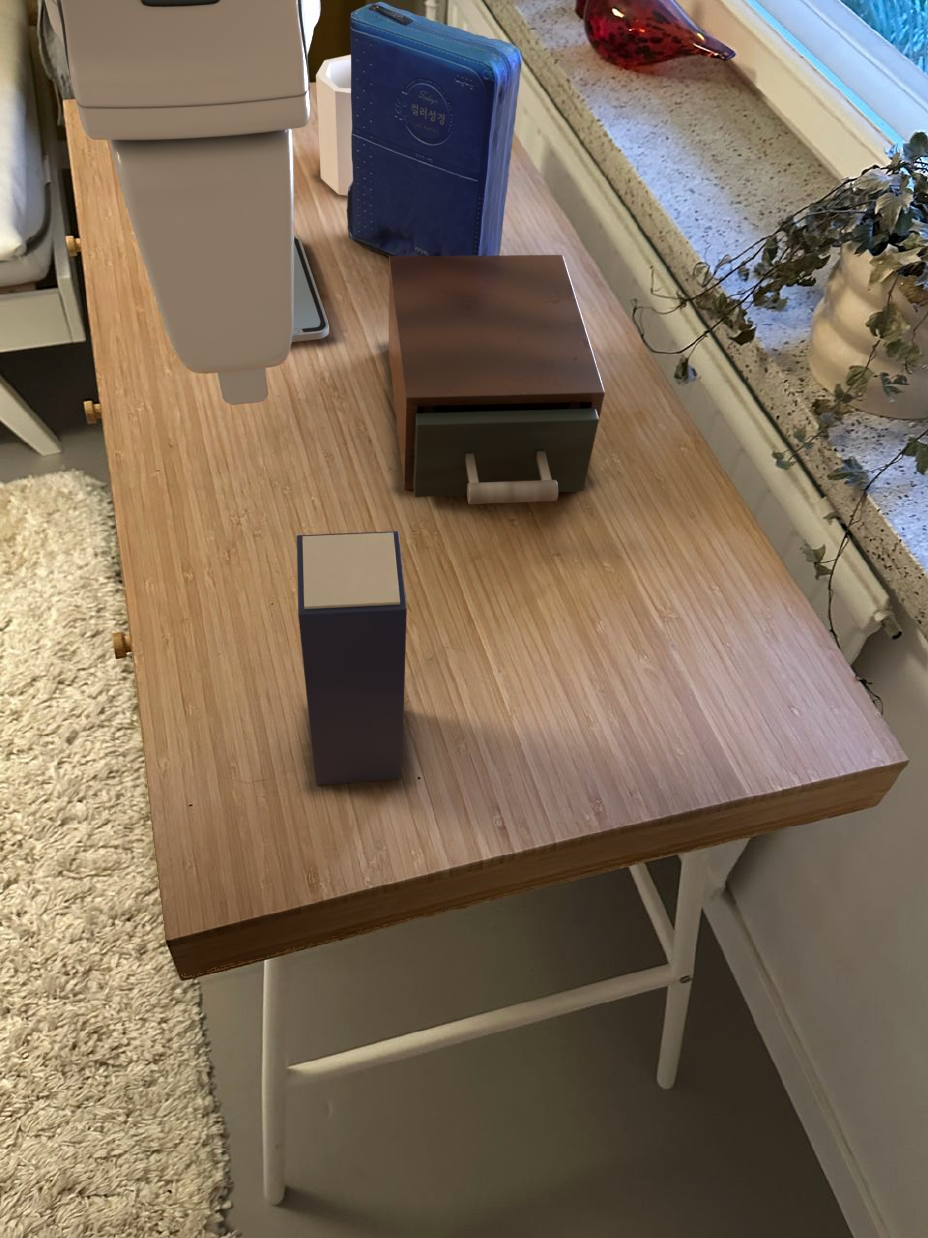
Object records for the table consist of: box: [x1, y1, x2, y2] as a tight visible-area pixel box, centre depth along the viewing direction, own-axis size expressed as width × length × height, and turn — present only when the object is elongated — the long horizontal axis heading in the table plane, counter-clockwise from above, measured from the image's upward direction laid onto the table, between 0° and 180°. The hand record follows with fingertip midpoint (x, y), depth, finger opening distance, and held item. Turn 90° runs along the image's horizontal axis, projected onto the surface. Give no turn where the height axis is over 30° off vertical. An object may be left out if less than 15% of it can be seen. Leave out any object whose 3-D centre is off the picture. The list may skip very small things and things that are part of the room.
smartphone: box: [292, 235, 330, 343], centre depth 88 cm, size 7×1×15 cm
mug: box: [315, 54, 353, 197], centre depth 96 cm, size 12×9×10 cm
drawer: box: [413, 402, 600, 505], centre depth 74 cm, size 20×12×7 cm, turn 7°
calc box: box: [296, 530, 408, 786], centre depth 55 cm, size 5×5×16 cm
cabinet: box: [387, 254, 606, 491], centre depth 77 cm, size 17×14×9 cm
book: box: [346, 1, 523, 257], centre depth 85 cm, size 14×5×20 cm, turn 60°
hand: (236, 321), depth 44 cm, fingers open, 8 cm apart
